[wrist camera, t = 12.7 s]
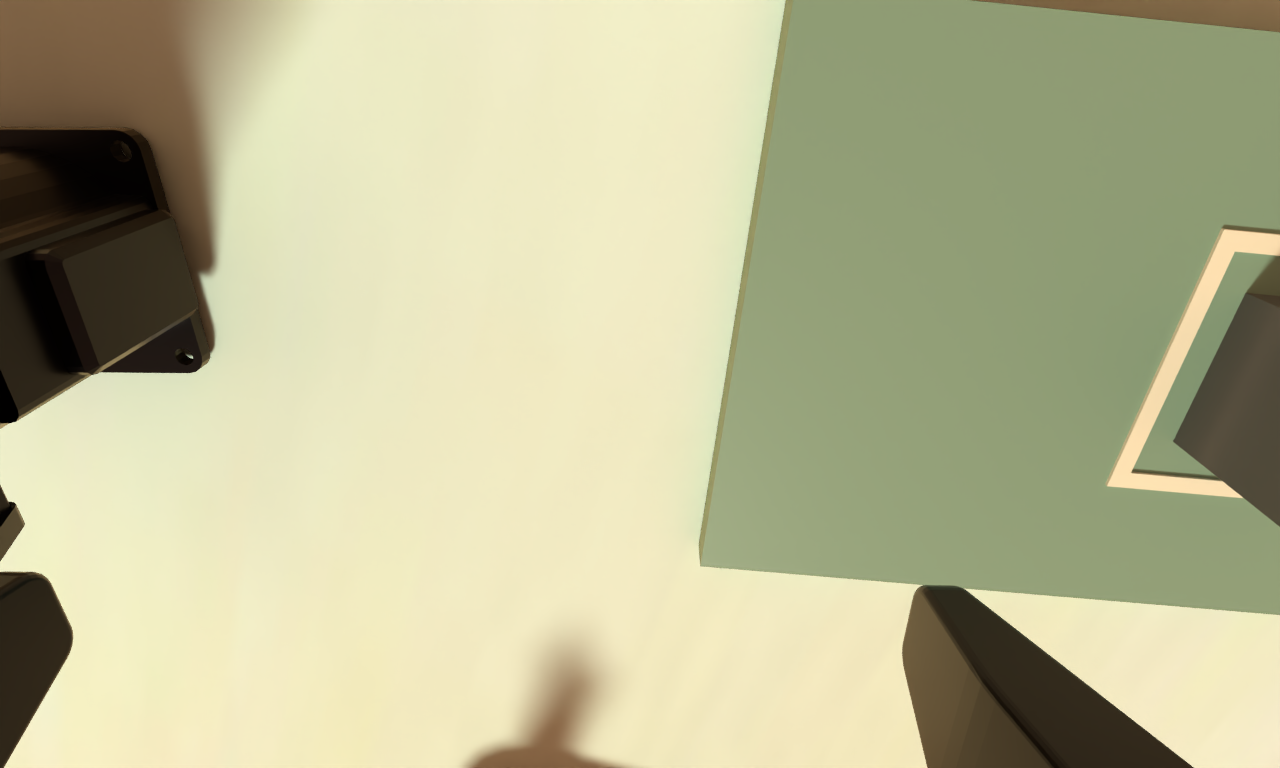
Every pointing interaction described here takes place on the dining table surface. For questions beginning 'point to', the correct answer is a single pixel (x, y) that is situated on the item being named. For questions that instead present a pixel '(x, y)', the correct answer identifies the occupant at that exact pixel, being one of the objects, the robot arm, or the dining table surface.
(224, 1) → the dining table surface
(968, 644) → the robot arm
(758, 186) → the board
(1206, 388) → the plug block
